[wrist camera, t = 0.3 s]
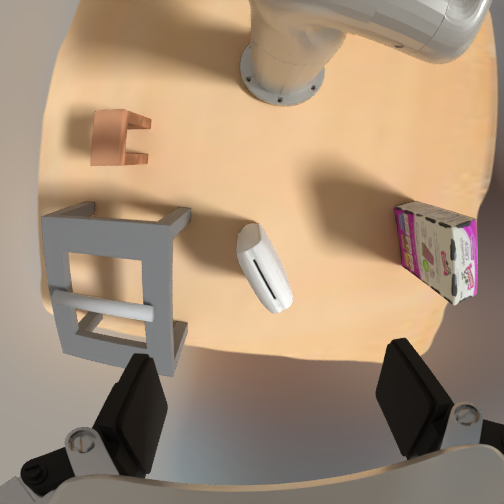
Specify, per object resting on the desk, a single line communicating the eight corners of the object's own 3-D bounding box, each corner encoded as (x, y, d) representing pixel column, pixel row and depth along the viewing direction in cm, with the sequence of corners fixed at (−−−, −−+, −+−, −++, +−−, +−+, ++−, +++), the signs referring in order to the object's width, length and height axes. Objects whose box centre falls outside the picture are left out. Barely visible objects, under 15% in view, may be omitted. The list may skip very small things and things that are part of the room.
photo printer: (288, 273, 48) (300, 310, 36) (264, 285, 48) (269, 324, 36) (259, 217, 45) (263, 238, 33) (234, 230, 45) (229, 255, 34)
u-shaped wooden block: (128, 120, 40) (95, 111, 29) (151, 119, 40) (122, 108, 30) (124, 163, 42) (90, 165, 31) (147, 163, 42) (117, 165, 32)
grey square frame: (84, 201, 44) (32, 219, 30) (191, 208, 44) (165, 229, 30) (94, 316, 50) (57, 359, 36) (187, 332, 51) (170, 386, 37)
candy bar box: (423, 258, 47) (478, 295, 31) (401, 266, 47) (452, 308, 32) (416, 198, 44) (478, 218, 28) (392, 205, 44) (450, 228, 29)
